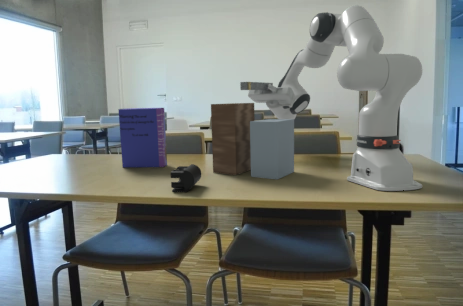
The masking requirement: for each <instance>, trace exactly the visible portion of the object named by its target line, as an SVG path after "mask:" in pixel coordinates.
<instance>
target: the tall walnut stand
mask: <svg viewBox="0 0 463 306" xmlns="http://www.w3.org/2000/svg"><path fill="white" fill-rule="evenodd" d="M210 116H211V117H210V119H211V144H212V145H211V148H212V152H211V153H212V172H213V174H224V175H231V176H237V175H240V174H243V173H246V172H248V171H251V151H250V121H256V120H255V102H241V103H239V102H235V103H234V102H233V103H232V102H231V103H230V102H228V103H211V104H210Z"/></svg>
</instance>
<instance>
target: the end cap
mask: <svg viewBox="0 0 463 306" xmlns="http://www.w3.org/2000/svg"><path fill="white" fill-rule="evenodd" d="M170 178H171V179H178V181H171V182H170V184H171V185H170V186H171V188H172V189H171V192H172V193H187V192H188V191H190V190H191V189H193V187H194V186H196V184H197V183H198V182H199V181H200V180H201V178H202V170H201V168H200V167H199V166H198V165H196V164H189V166H186V165H184V166H183V165H182V166H181V165H179V166H177V167H176V169H173V170H171V171H170Z"/></svg>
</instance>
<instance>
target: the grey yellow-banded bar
mask: <svg viewBox="0 0 463 306" xmlns="http://www.w3.org/2000/svg"><path fill="white" fill-rule="evenodd" d="M239 84H240V85H239V86H240V91H249V90H270V89H267V87H266V86H267V84H271V85H272V86H274V85H273V84H274V83H273V82H260V81H259V82H257V81H241V82H240V83H239Z"/></svg>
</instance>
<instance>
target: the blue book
mask: <svg viewBox="0 0 463 306" xmlns="http://www.w3.org/2000/svg"><path fill="white" fill-rule="evenodd" d="M165 116H166V115H165V107H138V108H137V107H135V108H132V107H131V108H119V109H118V122H119V123H118V124H119V136H120V137H119V138H120V150H121V151H120V152H121V162H122V163H121V164H122V168H126V169H128V168H131V169H132V168H133V169H134V168H142V169H143V168H144V169H145V168H146V169H147V168H165V167H167V166H168V154H167V135H166V119H165V118H166V117H165Z"/></svg>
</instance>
